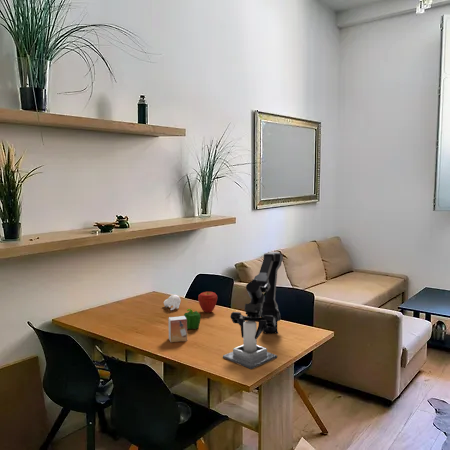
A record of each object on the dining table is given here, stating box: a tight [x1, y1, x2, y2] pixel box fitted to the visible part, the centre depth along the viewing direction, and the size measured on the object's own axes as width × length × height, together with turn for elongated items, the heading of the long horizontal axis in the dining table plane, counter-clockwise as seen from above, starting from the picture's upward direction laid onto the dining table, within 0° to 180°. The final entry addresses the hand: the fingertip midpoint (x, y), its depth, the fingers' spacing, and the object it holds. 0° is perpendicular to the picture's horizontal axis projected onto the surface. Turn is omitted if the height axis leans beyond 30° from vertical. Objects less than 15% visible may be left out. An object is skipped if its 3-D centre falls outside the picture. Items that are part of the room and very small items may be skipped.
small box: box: [168, 315, 188, 343], centre depth 204 cm, size 8×6×10 cm
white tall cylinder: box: [242, 321, 258, 354], centre depth 182 cm, size 6×6×12 cm
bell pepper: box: [183, 308, 202, 330], centre depth 221 cm, size 8×8×10 cm
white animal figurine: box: [163, 294, 182, 311], centre depth 255 cm, size 6×8×12 cm
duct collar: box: [222, 344, 278, 370], centre depth 183 cm, size 16×16×4 cm
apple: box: [197, 291, 218, 314], centre depth 247 cm, size 11×11×12 cm
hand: (249, 338), depth 181 cm, fingers closed on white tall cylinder, 5 cm apart
